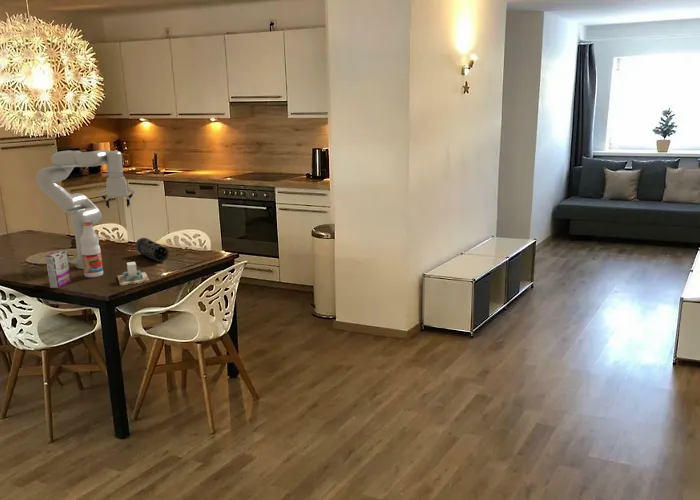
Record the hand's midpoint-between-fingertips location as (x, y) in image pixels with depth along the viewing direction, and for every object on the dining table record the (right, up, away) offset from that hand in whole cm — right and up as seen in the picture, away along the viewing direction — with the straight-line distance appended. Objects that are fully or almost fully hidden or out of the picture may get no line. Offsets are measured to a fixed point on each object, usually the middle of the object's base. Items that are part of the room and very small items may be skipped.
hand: (118, 207), depth 338 cm
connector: (+12, -37, -13) cm, 41 cm away
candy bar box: (-22, -40, -19) cm, 50 cm away
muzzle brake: (+9, -28, +28) cm, 41 cm away
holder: (+12, -38, -12) cm, 42 cm away
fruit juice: (-11, -36, -3) cm, 38 cm away
